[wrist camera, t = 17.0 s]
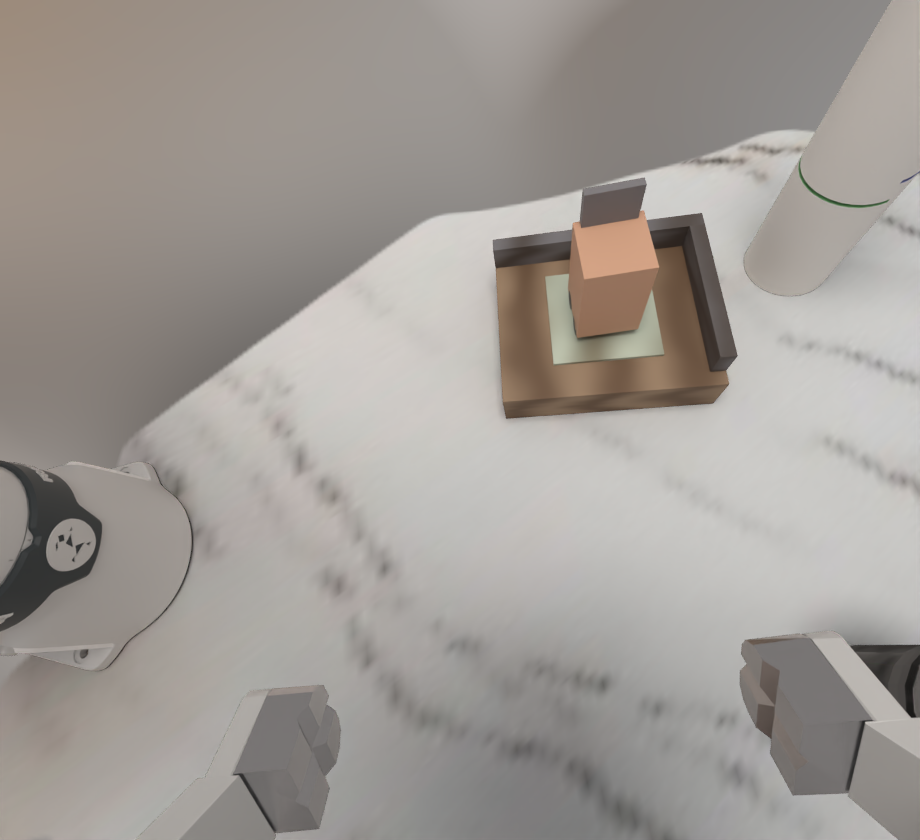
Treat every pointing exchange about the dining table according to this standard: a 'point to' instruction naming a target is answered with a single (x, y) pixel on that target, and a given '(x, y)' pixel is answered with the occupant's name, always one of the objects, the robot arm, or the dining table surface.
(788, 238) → the cylindrical container
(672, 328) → the dock
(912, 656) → the beverage cup
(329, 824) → the dining table surface
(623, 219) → the tan block
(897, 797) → the robot arm
